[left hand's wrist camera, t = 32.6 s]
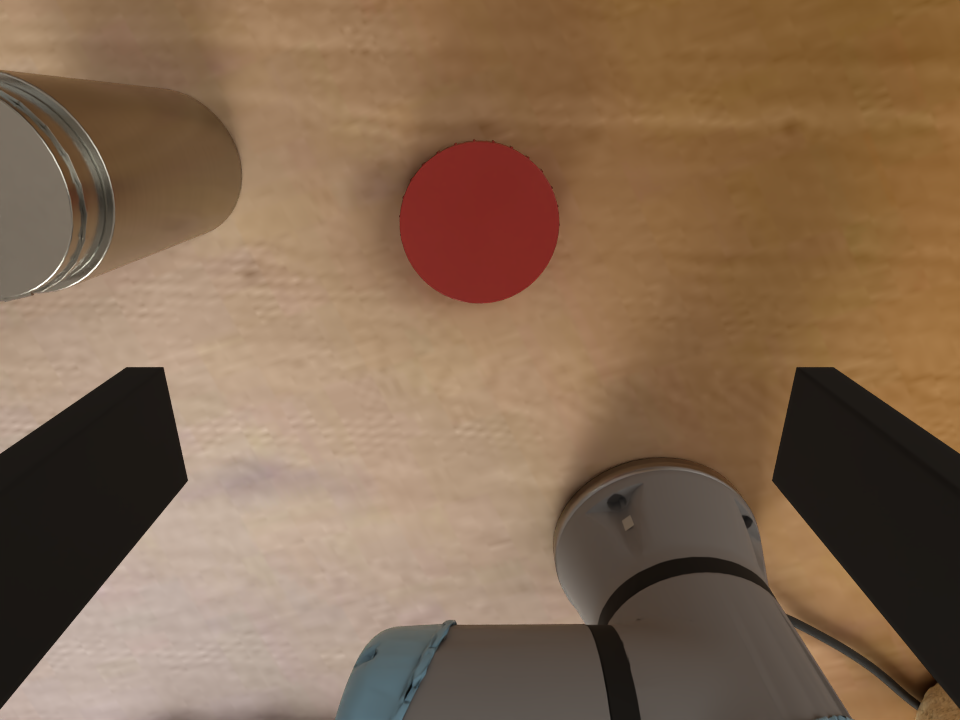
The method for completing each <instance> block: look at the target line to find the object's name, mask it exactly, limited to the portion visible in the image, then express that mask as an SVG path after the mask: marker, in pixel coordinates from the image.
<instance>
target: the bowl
mask: <svg viewBox="0 0 960 720" xmlns="http://www.w3.org/2000/svg"><path fill="white" fill-rule="evenodd" d="M916 720H960V709H959V708H958V707H957V705H956V704H955V703H954V702H953V701H952V699H951V698H950V697H949V696H948V694H947V693H946V692H945V691H944V690H943V688H942V687H941V686H940V685H939V683H937V684H936V685H935V686H933V687H930V688H929V689H928V690H927V692H926V693H925V695H924V698H923V700H922V702H921V704H920V706H919V708H918V710H917V714H916Z"/></svg>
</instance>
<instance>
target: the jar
mask: <svg viewBox="0 0 960 720" xmlns="http://www.w3.org/2000/svg"><path fill="white" fill-rule="evenodd" d="M241 182H242V172H241V164H240V159H239V155H238V152H237V149H236V146H235V144H234V141H233V139H232V138H231V136H230V134H229V132H228V131H227V129H226V128H225V126H224V125H223V124H222V122H221V121H220V120H219V119H218V118H217V117H216V115H215V114H214V113H213V112H211V111H210V110H209V109H208V108H207V107H206V106H204V105H203V104H201V103H200V102H199V101H197V100H195V99H193V98H192V97H190V96H188V95H185V94H183V93H180V92H177V91H174V90H170V89H162V88H154V87H145V86H136V85H128V84H119V83H110V82H101V81H93V80H84V79H75V78H66V77H58V76H49V75H40V74H31V73H23V72H14V71H5V70H0V301H5V302H7V301H11V300H15V299H20V298H24V297H28V296H32V295H34V293H48V292H54V291H59V290H62V289H65V288H68V287H71V286H73V285H76V284H79V283H81V282H84V281H86V280H89V279H91V278H94V277H96V276H99V275H101V274H104V273H106V272H109V271H111V270H114V269H116V268H119V267H122V266H124V265H127V264H129V263H132V262H134V261H137V260H139V259H142V258H144V257H147V256H149V255H152V254H154V253H157V252H160V251H162V250H165V249H167V248H170V247H172V246H175V245H177V244H180V243H182V242H185V241H187V240H190V239H192V238H195V237H197V236H200V235H203V234H205V233H207V232H209V231H211V230H213V229H215V228H216V227H218V226H219V225H221V224H222V223H223V222H224V221H225V220H226V219H227V218H228V216H229V215H230V214H231V213H232V211H233V209H234V207H235V206H236V203H237V201H238V198H239V194H240V190H241Z"/></svg>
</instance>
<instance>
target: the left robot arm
mask: <svg viewBox="0 0 960 720" xmlns="http://www.w3.org/2000/svg"><path fill="white" fill-rule="evenodd" d="M187 481H188V479H187V474H186V469H185V465H184V460H183V455H182V451H181V446H180V442H179V437H178V432H177V428H176V423H175V418H174V414H173V409H172V405H171V400H170V395H169V391H168V386H167V382H166V377H165V372H164V368H163V367H126V368H125V369H123V370H122V371H120V372H119V373H117V374H116V375H115V376H113V377H112V378H110V379H109V380H107V381H106V382H104V383H103V384H101V385H100V386H98V387H97V388H96V389H94V390H93V391H91V392H90V393H88V394H87V395H85V396H84V397H82V398H81V399H80V400H78V401H77V402H75V403H74V404H72V405H71V406H69V407H68V408H66V409H65V410H63V411H62V412H61V413H59V414H58V415H56V416H55V417H53V418H52V419H50V420H49V421H47V422H46V423H45V424H43V425H42V426H40V427H39V428H37V429H36V430H34V431H33V432H31V433H30V434H28V435H27V436H26V437H24V438H23V439H21V440H20V441H18V442H17V443H15V444H14V445H12V446H11V447H10V448H8V449H7V450H5V451H4V452H2V453H1V454H0V709H1V708H2V707H3V705H4V704H5V703H6V702H7V701H8V699H9V698H10V697H11V696H12V694H13V693H14V692H15V691H16V690H17V688H18V687H19V686H20V685H21V683H22V682H23V681H24V680H25V679H26V677H27V676H28V675H29V674H30V672H31V671H32V670H33V669H34V668H35V666H36V665H37V664H38V663H39V662H40V660H41V659H42V658H43V657H44V655H45V654H46V653H47V652H48V651H49V649H50V648H51V647H52V646H53V644H54V643H55V642H56V641H57V640H58V638H59V637H60V636H61V635H62V633H63V632H64V631H65V630H66V629H67V627H68V626H69V625H70V624H71V623H72V621H73V620H74V619H75V618H76V616H77V615H78V614H79V613H80V612H81V610H82V609H83V608H84V607H85V605H86V604H87V603H88V602H89V601H90V599H91V598H92V597H93V596H94V595H95V593H96V592H97V591H98V590H99V588H100V587H101V586H102V585H103V584H104V582H105V581H106V580H107V579H108V577H109V576H110V575H111V574H112V573H113V571H114V570H115V569H116V568H117V566H118V565H119V564H120V563H121V562H122V560H123V559H124V558H125V557H126V556H127V554H128V553H129V552H130V551H131V549H132V548H133V547H134V546H135V545H136V543H137V542H138V541H139V540H140V538H141V537H142V536H143V535H144V534H145V532H146V531H147V530H148V529H149V528H150V526H151V525H152V524H153V523H154V521H155V520H156V519H157V518H158V517H159V515H160V514H161V513H162V512H163V510H164V509H165V508H166V507H167V506H168V504H169V503H170V502H171V501H172V499H173V498H174V497H175V496H176V495H177V493H178V492H179V491H180V490H181V489H182V487H183V486H184V485H185V484H186V482H187ZM772 481H773V482H774V484H775V485H776V486H777V487H778V489H779V490H780V491H781V492H782V493H783V495H784V496H785V497H786V498H787V499H788V501H789V502H790V503H791V504H792V506H793V507H794V508H795V509H796V510H797V512H798V513H799V514H800V515H801V517H802V518H803V519H804V520H805V521H806V523H807V524H808V525H809V526H810V528H811V529H812V530H813V531H814V532H815V534H816V535H817V536H818V537H819V538H820V540H821V541H822V542H823V543H824V545H825V546H826V547H827V548H828V549H829V551H830V552H831V553H832V554H833V556H834V557H835V558H836V559H837V560H838V562H839V563H840V564H841V565H842V566H843V568H844V569H845V570H846V571H847V573H848V574H849V575H850V576H851V577H852V579H853V580H854V581H855V582H856V584H857V585H858V586H859V587H860V588H861V590H862V591H863V592H864V593H865V595H866V596H867V597H868V598H869V599H870V601H871V602H872V603H873V604H874V605H875V607H876V608H877V609H878V610H879V612H880V613H881V614H882V615H883V616H884V618H885V619H886V620H887V621H888V623H889V624H890V625H891V626H892V627H893V629H894V630H895V631H896V632H897V634H898V635H899V636H900V637H901V638H902V640H903V641H904V642H905V643H906V644H907V646H908V647H909V648H910V649H911V651H912V652H913V653H914V654H915V655H916V657H917V658H918V659H919V660H920V662H921V663H922V664H923V665H924V666H925V668H926V669H927V670H928V671H929V672H930V674H931V675H932V676H933V677H934V679H935V680H936V681H937V682H938V683H939V685H940V686H941V687H942V688H943V690H944V691H945V692H946V693H947V694H948V696H949V697H950V698H951V699H952V701H953V702H954V703H955V704H956V705H957V707H958V708H959V709H960V454H959V453H958V452H956V451H955V450H953V449H952V448H950V447H949V446H948V445H946V444H945V443H943V442H942V441H940V440H939V439H937V438H936V437H934V436H933V435H932V434H930V433H929V432H927V431H926V430H924V429H923V428H921V427H920V426H918V425H917V424H915V423H914V422H913V421H911V420H910V419H908V418H907V417H905V416H904V415H902V414H901V413H899V412H898V411H897V410H895V409H894V408H892V407H891V406H889V405H888V404H886V403H885V402H883V401H882V400H880V399H879V398H878V397H876V396H875V395H873V394H872V393H870V392H869V391H867V390H866V389H864V388H863V387H862V386H860V385H859V384H857V383H856V382H854V381H853V380H851V379H850V378H848V377H847V376H845V375H844V374H843V373H841V372H840V371H838V370H837V369H835V368H834V367H797V368H796V372H795V377H794V382H793V386H792V391H791V395H790V400H789V405H788V409H787V414H786V418H785V423H784V428H783V432H782V437H781V442H780V446H779V451H778V455H777V460H776V465H775V469H774V474H773V479H772ZM553 552H554V559H555V565H556V571H557V575H558V579H559V581H560V584H561V587H562V588H563V590H564V592H565V594H566V596H567V598H568V599H569V601H570V602H571V603H572V605H573V606H574V607H575V608H576V610H577V611H578V613H579V615H580V616H581V618H582V620H583V621H584V623H585V624H586V625H585V624H539V625H457V623H456V621H455V620H448V621H445V622H444V623H443V624H436V625H418V626H401V627H393V628H389V629H386V630H384V631H382V632H381V633H379V634H378V635H376V636H375V637H374V638H373V639H372V640H371V641H370V642H369V643H368V644H367V646H366V647H365V648H364V650H363V651H362V653H361V654H360V656H359V658H358V660H357V662H356V664H355V666H354V668H353V670H352V673H351V675H350V677H349V680H348V682H347V685H346V687H345V690H344V693H343V696H342V699H341V702H340V705H339V708H338V711H337V715H336V718H335V720H853V719H852V718H851V716H850V715H849V713H848V711H847V710H846V708H845V707H844V705H843V704H842V702H841V700H840V699H839V697H838V696H837V694H836V692H835V691H834V689H833V688H832V686H831V685H830V683H829V681H828V680H827V678H826V677H825V675H824V674H823V672H822V670H821V669H820V667H819V666H818V664H817V663H816V661H815V659H814V658H813V656H812V655H811V653H810V651H809V650H808V648H807V647H806V645H805V644H804V642H803V640H802V639H801V637H800V636H799V634H798V633H797V631H796V629H795V628H797V629H799V630H801V631H803V632H805V633H807V634H809V635H811V636H813V637H815V638H817V639H818V640H820V641H822V642H824V643H826V644H828V645H829V646H831V647H833V648H835V649H836V650H838V651H840V652H841V653H843V654H845V655H846V656H848V657H849V658H851V659H853V660H854V661H856V662H857V663H859V664H860V665H862V666H863V667H864V668H866V669H867V670H869V671H870V672H871V673H873V674H874V675H875V676H876V677H878V678H879V679H880V680H881V681H883V682H884V683H885V684H886V685H887V686H888V687H889V688H891V689H892V690H893V691H894V692H895V693H896V694H897V695H899V696H900V697H901V698H902V699H903V700H905V701H906V702H907V703H908V704H910V705H911V706H912V707H914V708H915V709H916V710H918V708H919V706H920V704H921V703H920V702H919V701H918V700H916V699H915V698H914V697H913V696H911V695H910V694H909V693H908V692H906V691H905V690H904V689H903V688H902V687H901V686H900V685H898V684H897V683H896V682H895V681H894V680H893V679H892V678H891V677H889V676H888V675H887V674H886V673H885V672H884V671H882V670H881V669H880V668H879V667H877V666H876V665H875V664H873V663H872V662H870V661H869V660H868V659H866V658H865V657H863V656H862V655H860V654H859V653H857V652H856V651H854V650H852V649H851V648H849V647H848V646H846V645H844V644H843V643H841V642H839V641H838V640H836V639H834V638H832V637H830V636H829V635H827V634H825V633H823V632H821V631H819V630H818V629H816V628H814V627H812V626H810V625H808V624H806V623H804V622H802V621H800V620H798V619H796V618H794V617H792V616H790V615H787V614H785V612H784V610H783V609H782V607H781V606H780V604H779V603H778V601H777V600H776V598H775V597H774V595H773V593H772V592H771V590H770V588H769V587H768V581H767V575H766V569H765V563H764V557H763V551H762V545H761V539H760V534H759V530H758V527H757V523H756V521H755V518H754V515H753V513H752V512H751V510H750V508H749V506H748V505H747V504H746V502H745V501H744V499H743V498H742V496H741V495H740V494H739V492H738V491H737V489H736V488H735V487H734V486H733V485H732V484H731V483H730V482H729V481H728V480H727V479H726V478H725V477H723V476H722V475H720V474H719V473H717V472H716V471H714V470H712V469H710V468H708V467H706V466H704V465H701V464H698V463H695V462H692V461H688V460H683V459H676V458H649V459H641V460H637V461H632V462H628V463H625V464H622V465H619V466H617V467H614V468H612V469H610V470H608V471H606V472H604V473H602V474H600V475H598V476H597V477H595V478H594V479H592V480H591V481H590V482H588V483H587V484H586V485H584V486H583V487H582V488H581V489H580V490H579V491H578V492H577V493H576V494H575V495H574V496H573V497H572V499H571V500H570V501H569V502H568V504H567V505H566V507H565V508H564V510H563V512H562V514H561V516H560V518H559V520H558V523H557V526H556V529H555V534H554V541H553ZM794 627H795V628H794Z"/></svg>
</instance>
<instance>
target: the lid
mask: <svg viewBox="0 0 960 720" xmlns="http://www.w3.org/2000/svg"><path fill="white" fill-rule="evenodd" d="M542 172H543V171H542V170H541V169H539V168H538V167H537V166H536V165H535V164H534V163H533V162H532V161H530V160H529V157H528V156H524V155H522V154H521V153H519V152H518V151H516V150H514V149H513V147H512V146H510V147H508V146H506V145H503V144H499V143H496V142H494V141H493V140H492V142H490V141H475V139H473V141H469V142H464V143H460V144H457V143H455V144H454V145H453V146H451V147H449V148H446V149H445V150H443V151H441V152H440V151H438V152H437V154H436V155H435V156H433V157H432V158H431V159H430V160H428V161H427V162H425V163H423V164H422V167H421V168H420V169H419V170H418V172H417V173H416V174H415V176H414V177H413V178H412V179H411V180H410V181H411V182H410V184H409V186H408V188H407V190H406V193H405V195H404V196H403V202H402V206H401V212H400V216H399V217H400V233H401V234H400V235H401V240H402V243H403V247H404V250H405V253H406V255H407V257H408V259H409V261H410V263H411V265H412V266H413V268H414V269H415V271H416V272H417V273H418V275H419V276H420V277H421V278H422V279H423V280H424V281H425V282H426V283H427V284H428V285H430V286H431V287H432V288H433V289H435V290H436V291H438V292H440V293H441V294H443V295H445V296H448V297H450V298H452V299H455V300H459V301H462V302H469V303H491V302H496V301H500V300H504V299H506V298H509V297H512V296H514V295H516V294H517V293H519V292H521V291H522V290H524V289H525V288H527V287H528V286H529V285H531V284H532V283H533V282H534V281H535V280H536V279H537V278H538V277H539V276H540V274H541V273H542V272H543V271H544V269H545V268H546V266H547V265H548V263H549V261H550V259H551V257H552V255H553V252H554V249H555V247H556V244H557V238H558V233H559V225H560V224H559V212H558V205H557V202H556V199H555V196H554V192H553V190H552V189H553V188H552V186H550V184H549V182H548V181H547V179H546V177H545V176H544V174H543V173H542Z"/></svg>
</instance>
